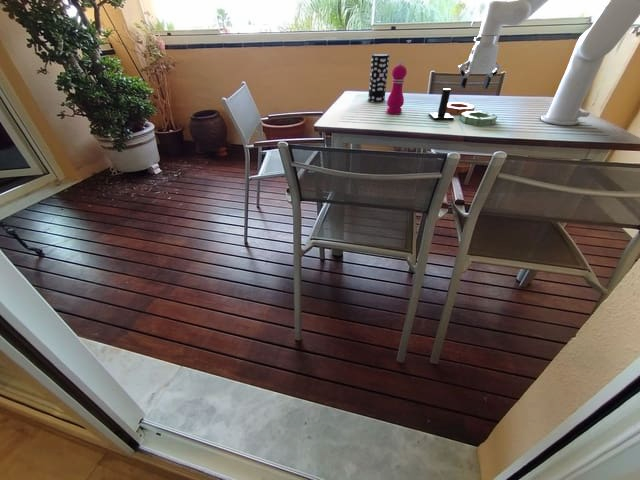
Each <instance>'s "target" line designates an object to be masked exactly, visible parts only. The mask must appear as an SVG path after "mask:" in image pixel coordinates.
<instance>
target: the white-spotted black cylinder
mask: <svg viewBox="0 0 640 480" xmlns="http://www.w3.org/2000/svg"><path fill="white" fill-rule="evenodd" d="M389 63H390V54H388V53H387V54H386V53H373V54H371V59H370V74H369V85H368V97H367V98H368V99H367V100H368V102H369V103H383V102H385V101H386V92H387V91H386V90H387V84H388V83H387V82H388V74H389Z"/></svg>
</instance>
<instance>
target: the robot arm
mask: <svg viewBox="0 0 640 480" xmlns="http://www.w3.org/2000/svg"><path fill="white" fill-rule="evenodd" d="M547 2H549V0H513V1H507V0H492V1H489V2H488V3H487V5H486V7H485V11H484V15H483V18H482V21H481V26H480V29H479V33H478V35H477V36H475V37H474V39H473V41H474V42H475V44H474V45H473V47H472V49H471V52H470V54H469V56H468V60H467V61H465V62H464V63H461V64H459V65H458V71H459V75H460V76H461V81H460V84H459V86H460V88H461V89H462V90H464V89H466V86H467V83H468V77H469V76H470V75H471V74H474V75H476V74H477V75H480V74H481V75H483V74H485V75H486V77H484V81H483V83H482V88H483V89H484V90H487V89H488V87H489V86H490V83H491V81H492V79H493V77H494V76H496V75H497V74H498V72H499V71H500V70H501V68H502V66H501V64H499V63H497V60H498V53H499V47H500V46H499V44H498V42H499V38H500V36H501V33H502V30H503V26H504V25H507V26H512V27H516V26H519V25H522V24H523V23H524V22H526V21H527V20H528V19H529V18H531V16H532V15H533V14H535V13H536V12H538V10H539V9H540V8H541V7H543V6H544V5H545V4H546V3H547ZM639 17H640V0H606V1H605V3H604V6H603V9H602V10H601V12H600V14H599V15H598V17H597V19H596V20H595V21H594V22H593V24H592V25H591V27H589V28H588V29H586V30H585V31H584V32H583V33H582V34H581V35H580V36H579V38H578V40H577V41H576V44H575V46H574V49H573V51H572V54H571V56H570V59H569V62H568V64H567V66H566V70H565V71H564V73H563V76H562V78H561V81H560V83H559V85H558V88H557V90H556V92H555V94H554V97H553V99H552V102H551V103H550V107H549V109H548V111H547V113H546V114H542V115H541V117H540V120H541V121H543V122H545V123H548V124H551V125H557V126H558V125H559V126H575V125H578V124H579V122H580V120H579V118H581V117H582V118H588V117H589V116H590V114H591V113H590V111H582V110H581V107H582V106H583V103H584V101H585V100H586V97H587V95H588V93H589V91H590V89H591V88H592V85H593V84H594V81H595V79H596V76H597V75H598V73H599V70H600V69H601V66H602V64H603V61H604V59H605V57H606V56H607V55H608V54H609V53H611V51H613V49H615V47H616V46H617V45H618V44H619V43H620V41H621V40H622V39H623V38H624V36H625V35H626V34H627V32H629V30H630V28H631V27H632V26H633V25H634V23H635V22H636V21H637V19H638V18H639ZM464 68H465V71H464Z"/></svg>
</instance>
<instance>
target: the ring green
mask: <svg viewBox="0 0 640 480" xmlns="http://www.w3.org/2000/svg"><path fill="white" fill-rule="evenodd" d="M459 119H460V121H461V122H463V123H465V124H468V125H473V126H478V127H479V126H493V125H494V124H496V122H497V119H498V116H497V115H496V114H494V113H491V112H488V111H481V110H474V111H466V112H464V113H462V114H461V115H460V117H459Z"/></svg>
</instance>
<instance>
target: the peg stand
mask: <svg viewBox="0 0 640 480" xmlns="http://www.w3.org/2000/svg"><path fill="white" fill-rule="evenodd" d="M451 91H452V89H451V88H448V87H447V88H446V87H445V88H443V89H442V91H441V97H440V101H439V106H438V110H437V112H428V117H430V118H431V119H432V120H433V121H454V119H455V117H454V116H453V115H452V114H449V113H446V109H447V105H448V103H449V100H450V95H451Z"/></svg>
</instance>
